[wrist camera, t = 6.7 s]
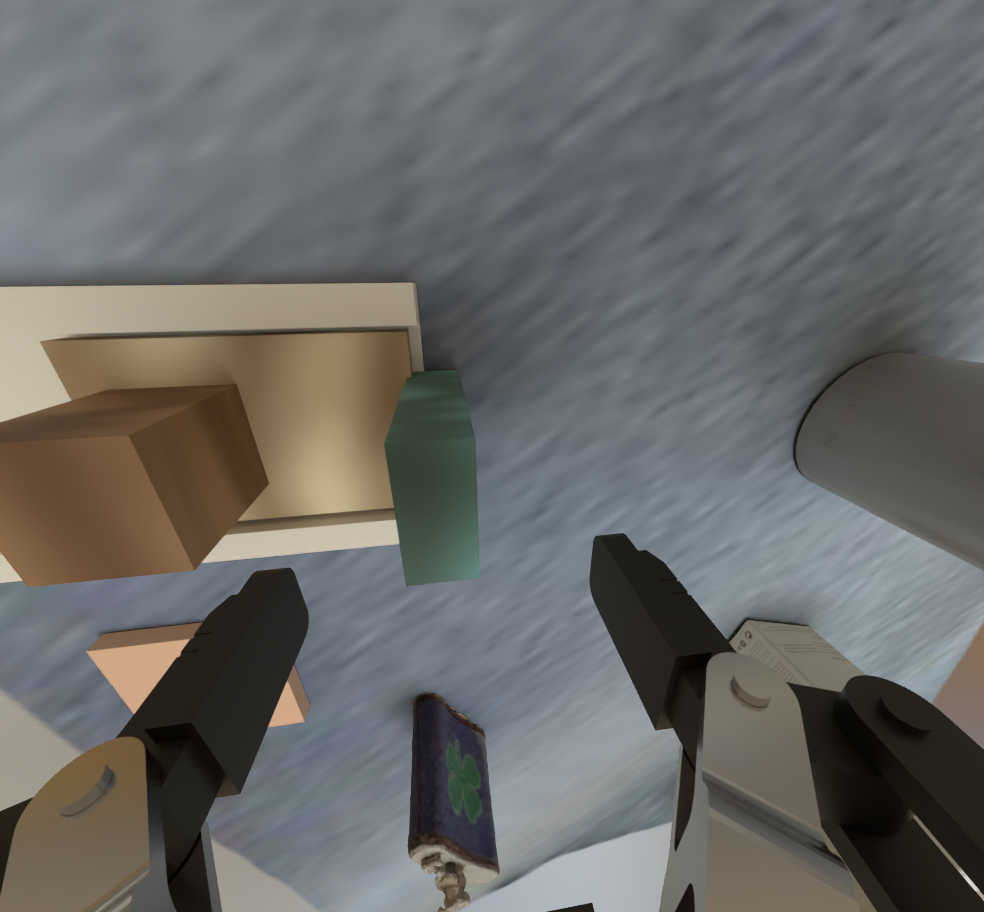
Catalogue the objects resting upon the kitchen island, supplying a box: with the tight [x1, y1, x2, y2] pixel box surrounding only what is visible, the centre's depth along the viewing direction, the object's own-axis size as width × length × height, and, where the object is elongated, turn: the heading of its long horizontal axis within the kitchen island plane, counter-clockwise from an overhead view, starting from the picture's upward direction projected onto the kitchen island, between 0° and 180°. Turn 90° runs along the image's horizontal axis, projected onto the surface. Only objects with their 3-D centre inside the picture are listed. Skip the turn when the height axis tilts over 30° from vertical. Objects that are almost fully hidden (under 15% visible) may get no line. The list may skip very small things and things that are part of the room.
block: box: [0, 384, 269, 587], centre depth 13 cm, size 5×5×6 cm
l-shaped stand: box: [39, 329, 480, 586], centre depth 14 cm, size 16×9×9 cm, turn 90°
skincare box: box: [729, 620, 980, 891], centre depth 26 cm, size 8×6×15 cm
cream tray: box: [0, 283, 424, 583], centre depth 16 cm, size 26×13×2 cm, turn 90°
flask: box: [408, 692, 500, 912], centre depth 26 cm, size 9×3×11 cm, turn 30°
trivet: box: [86, 622, 310, 727], centre depth 24 cm, size 10×10×1 cm
